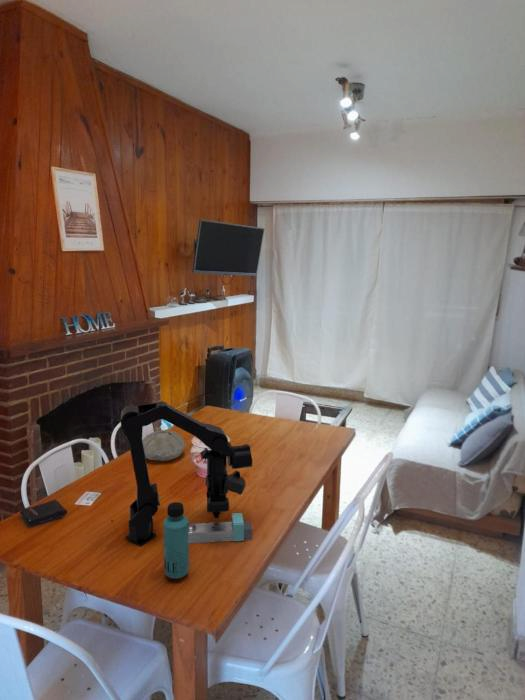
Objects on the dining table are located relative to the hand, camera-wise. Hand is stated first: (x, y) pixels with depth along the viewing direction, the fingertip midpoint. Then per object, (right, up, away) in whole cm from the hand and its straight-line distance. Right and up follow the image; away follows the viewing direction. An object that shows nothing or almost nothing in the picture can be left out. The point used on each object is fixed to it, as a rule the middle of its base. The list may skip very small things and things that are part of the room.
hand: (216, 517), depth 143 cm
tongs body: (+1, -4, -5) cm, 6 cm away
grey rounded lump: (-27, +7, +50) cm, 57 cm away
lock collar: (+7, -4, -4) cm, 8 cm away
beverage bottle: (-8, -8, -22) cm, 24 cm away
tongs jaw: (+1, -4, -3) cm, 5 cm away
